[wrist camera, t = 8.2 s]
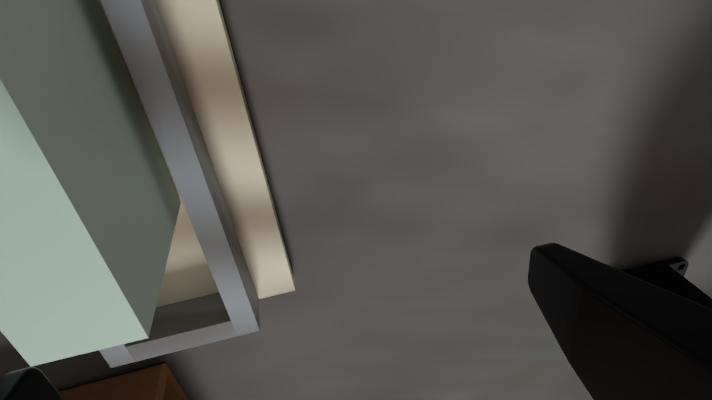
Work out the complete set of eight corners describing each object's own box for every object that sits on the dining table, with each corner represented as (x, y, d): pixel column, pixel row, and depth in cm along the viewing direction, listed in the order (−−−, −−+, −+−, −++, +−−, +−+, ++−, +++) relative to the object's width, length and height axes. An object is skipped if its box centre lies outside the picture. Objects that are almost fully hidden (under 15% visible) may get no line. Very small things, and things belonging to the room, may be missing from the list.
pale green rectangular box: (180, 203, 17) (148, 337, 12) (103, 219, 17) (30, 366, 11) (59, -94, 12) (-114, -120, 6) (-57, -80, 12) (-356, -92, 6)
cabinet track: (293, 276, 22) (299, 320, 19) (88, 325, 21) (67, 379, 18) (105, -420, 10) (59, -537, 8) (-398, -395, 9) (-650, -524, 6)
